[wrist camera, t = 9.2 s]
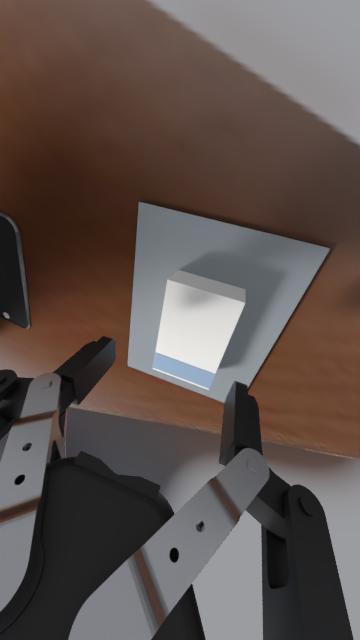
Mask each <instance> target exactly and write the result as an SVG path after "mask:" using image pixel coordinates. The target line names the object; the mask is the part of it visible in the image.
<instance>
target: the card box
mask: <svg viewBox="0 0 360 640" xmlns="http://www.w3.org/2000/svg"><path fill="white" fill-rule="evenodd" d="M244 305H245V289H243V288H239V287H236V286H232V285H229V284H226V283H222V282H219V281H215V280H212V279H208V278H205V277H201V276H198V275H195V274H191V273H188V272H184V271H181V270H178V271H177V272H175V273H174V274H173V275H172V276H171V277H170V278H168V279H167V285H166V291H165V297H164V303H163V309H162V315H161V321H160V327H159V333H158V339H157V345H156V351H155V355H154V361H153V369H154V370H157V371H159V372H162V373H164V374H167V375H170V376H172V377H175V378H178V379H180V380H183V381H186V382H188V383H191V384H194V385H196V386H199V387H202V388H204V389H207V390H209V388H210V386H211V384H212V381H213V379H214V377H215V374H216V371H217V369H218V366H219V364H220V362H221V359H222V357H223V355H224V352H225V350H226V348H227V345H228V343H229V341H230V338H231V336H232V333H233V331H234V329H235V326H236V324H237V322H238V319H239V317H240V315H241V312H242V310H243V307H244Z"/></svg>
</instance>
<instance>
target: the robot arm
mask: <svg viewBox="0 0 360 640" xmlns="http://www.w3.org/2000/svg"><path fill="white" fill-rule="evenodd" d="M115 356H116V351H115V340H114V339H111V338H108V337H105V336H103V337H101V338H100V339H99V340H98V341H97V342H95V341H93V342H90V343H88V344H86V345H85V346H83V347H82V348H81V349H80V350H79V351H78V352H76V353H75V354H74V355H73V356H72V357H71V358H70V359H68V360H67V361H66V362H65V363H64V364H63V365H61V366H60V367H59V368H58V369H57V370H56V371H54V372H53V373H45V374H42V375H39V376H37V377H36V378H19V377H17V375H16V373H15V372H14V371H12V370H0V440H1V439H2V438H3V437H4V436H5V435H6V434H7V433H8V431H10V434H9V437H8V440H7V443H6V447H5V450H4V453H3V457H2V460H1V463H0V640H206V639H205V635H204V631H203V627H202V623H201V618H200V615H199V610H198V606H197V602H196V598H195V594H194V590H193V585H192V582H193V581H194V580H195V578H196V577H197V576H198V574H199V573H200V572H201V570H202V569H203V568H204V567H205V565H206V564H207V563H208V561H209V560H210V558H211V557H212V556H213V555H214V553H215V552H216V550H217V549H218V548H219V547H220V545H221V544H222V542H223V541H224V540H225V539H226V537H227V536H228V535H229V533H230V532H231V531H232V529H233V528H234V527H235V525H236V524H237V522H238V521H239V518H240V516H241V515H242V514H243V512H244V511H245V510H246V511H247V512H248V513H250V514H251V515H252V516H253V517H254V518H255V519H256V520H257V521H258V522H259V523H261V529H262V595H263V640H353V636H352V631H351V627H350V622H349V618H348V614H347V609H346V605H345V600H344V596H343V591H342V587H341V583H340V579H339V574H338V569H337V565H336V561H335V556H334V552H333V548H332V544H331V539H330V534H329V530H328V526H327V521H326V517H325V513H324V510H323V507H322V506H321V504H320V502H319V501H318V499H317V498H316V496H315V495H314V494H313V493H312V492H311V491H310V490H309V489H307V488H306V487H304V486H301V485H293V486H290V485H289V484H288V483H286V482H285V481H284V480H282V479H281V478H280V477H278V476H277V475H276V474H275V473H274V472H272V470H271V469H270V468H269V467H268V465H267V462H266V460H265V459H264V457H263V454H262V446H261V433H260V423H259V422H260V420H259V408H258V404H257V402H256V400H255V398H254V397H253V396H250V395H248V386H247V385H246V384H243V383H240V382H237V381H234V382H233V384H232V386H231V388H230V390H229V393H228V395H227V397H226V400H225V404H224V414H223V425H222V436H221V447H220V457H219V463H220V464H222V465H225V467H224V468H223V469H222V471H220V472H219V473H218V474H217V475H216V476H215V477H214V478H213V479H211V480H209V481H208V482H207V483H206V484H205V485H204V486H203V487H202V488H201V489H200V490H199V491H198V492H197V493H196V494H195V495H194V496H193V497H192V498H191V499H190V500H189V501H188V502H187V503H186V504H185V505H184V506H183V507H182V508H181V509H180V510H179V511H178V512H177V513H176V514H174V512H173V510H172V508H171V506H170V504H169V503H168V501H167V500H166V499H165V497H164V496H163V495H162V494H161V493H160V492H159V489H160V485H158V484H155V483H153V482H151V481H149V480H146V479H144V478H142V477H137V476H126V475H117V474H115V473H114V472H113V471H112V470H111V469H110V468H109V467H108V466H107V465H106V464H104V463H103V462H102V461H101V460H100V459H98V458H96V457H93V456H92V455H89V454H87V453H85V452H83V451H81V452H80V453H79V455H78V456H77V457H67V458H66V456H65V455H66V453H65V452H66V451H65V436H66V423H67V412H68V407H69V406H70V405H71V403H73V404H75V405H79V404H80V403H81V402H82V401H83V399H84V398H85V397H86V396H87V395H88V393H89V392H90V391H91V390H92V389H93V387H94V386H95V385H96V384H97V383H98V381H99V380H100V379H101V378H102V377H103V375H104V374H105V373H106V372H107V371H108V369H109V368H110V367H111V366H112V365H113V363H114V361H115Z"/></svg>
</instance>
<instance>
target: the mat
mask: <svg viewBox="0 0 360 640" xmlns="http://www.w3.org/2000/svg"><path fill="white" fill-rule="evenodd" d="M329 250H330V248H327V247H323V246H319V245H315V244H311V243H307V242H303V241H299V240H294V239H290V238H286V237H282V236H278V235H274V234H270V233H266V232H262V231H258V230H254V229H250V228H245V227H241V226H237V225H233V224H229V223H225V222H221V221H217V220H213V219H209V218H205V217H201V216H197V215H192V214H188V213H184V212H180V211H176V210H172V209H168V208H164V207H160V206H156V205H152V204H148V203H143V202H139V207H138V222H137V236H136V251H135V265H134V280H133V294H132V309H131V323H130V338H129V352H128V366H130V367H132V368H135V369H138V370H140V371H143V372H145V373H148V374H151V375H153V376H156V377H158V378H161V379H164V380H166V381H169V382H171V383H174V384H177V385H179V386H182V387H184V388H187V389H190V390H192V391H195V392H198V393H200V394H203V395H205V396H208V397H211V398H213V399H216V400H218V401H221V402H224V403H225V400H226V397H227V395H228V393H229V390H230V388H231V386H232V384H233V382H234V381H237V382H240V383H243V384H246V385H247V386H248V387H249V385H250V383H251V382H252V380H253V378H254V377H255V375H256V373H257V372H258V370H259V368H260V367H261V365H262V363H263V362H264V360H265V358H266V356H267V355H268V353H269V351H270V350H271V348H272V346H273V345H274V343H275V341H276V340H277V338H278V336H279V335H280V333H281V331H282V329H283V328H284V326H285V324H286V323H287V321H288V319H289V318H290V316H291V314H292V313H293V311H294V309H295V307H296V306H297V304H298V302H299V301H300V299H301V297H302V296H303V294H304V292H305V291H306V289H307V287H308V286H309V284H310V282H311V280H312V279H313V277H314V275H315V274H316V272H317V270H318V269H319V267H320V265H321V264H322V262H323V260H324V259H325V257H326V255H327V253H328V252H329ZM178 270H181V271H184V272H188V273H191V274H195V275H198V276H201V277H205V278H208V279H212V280H215V281H219V282H222V283H226V284H229V285H232V286H236V287H239V288H243V289H245V305H244V307H243V310H242V312H241V315H240V317H239V319H238V322H237V324H236V326H235V329H234V331H233V333H232V336H231V338H230V341H229V343H228V345H227V348H226V350H225V352H224V355H223V357H222V359H221V362H220V364H219V366H218V369H217V371H216V374H215V377H214V379H213V381H212V384H211V386H210V388H209V390H207V389H204V388H202V387H199V386H196V385H194V384H191V383H188V382H186V381H183V380H180V379H178V378H175V377H172V376H170V375H167V374H164V373H162V372H159V371H157V370H154V369H153V361H154V355H155V351H156V345H157V339H158V333H159V327H160V321H161V315H162V309H163V303H164V297H165V291H166V285H167V279H168V278H170V277H171V276H172V275H173V274H174V273H175V272H177V271H178Z"/></svg>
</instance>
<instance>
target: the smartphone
mask: <svg viewBox="0 0 360 640" xmlns="http://www.w3.org/2000/svg"><path fill="white" fill-rule="evenodd" d="M0 316H1V317H3V318H5V319H7V320H9V321H11V322H13V323H15V324H16V325H18V326H20V327H22V328H26V329H28V328H30V327H31V320H30V311H29V303H28V294H27V286H26V277H25V268H24V260H23V251H22V243H21V234H20V230H19V227H18V225H17V224H16V222H15V221H14V220H13V219H12V218H11V217H10V216H8V215H6V214H4V213H2V212H0Z"/></svg>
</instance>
